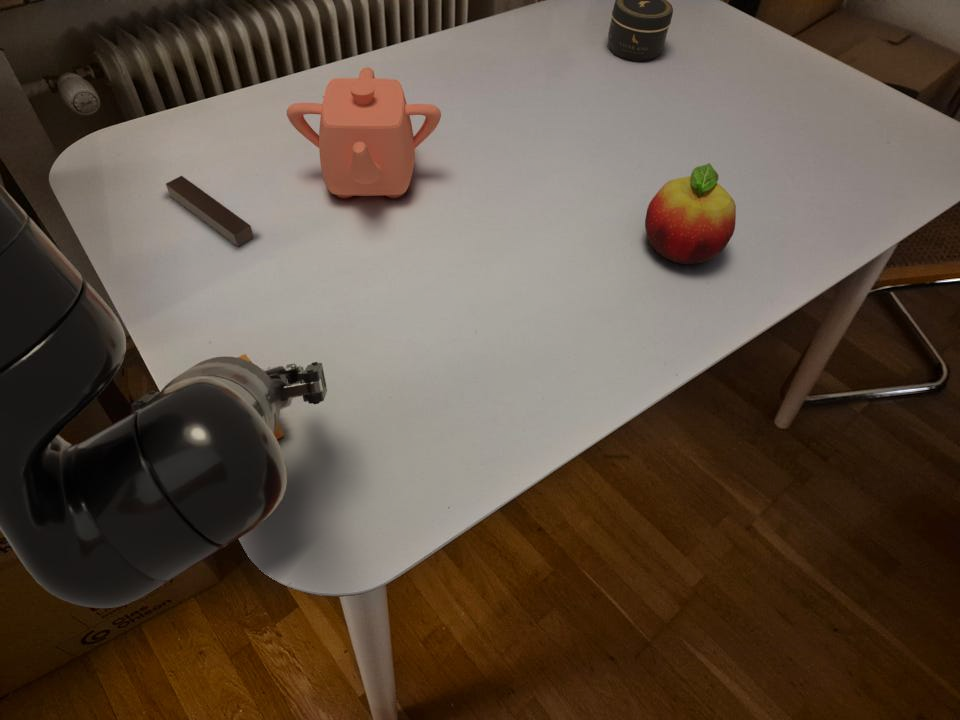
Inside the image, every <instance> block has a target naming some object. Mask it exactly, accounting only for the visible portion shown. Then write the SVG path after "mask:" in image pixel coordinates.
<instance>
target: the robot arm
mask: <svg viewBox="0 0 960 720" xmlns="http://www.w3.org/2000/svg"><path fill="white" fill-rule="evenodd" d="M126 351H127V338H126V333H125V330H124V328H123V326H122V324H121V321H120V320H119V319H118V317H117V315H116V314H115V312H114V311H113V309H112V308H111V307H110V306H109V305H108V304H107V303H106V302H105V300H104V299H103V298H102V296H101V295H100V294H99V293H98V292H97V291H96V289H94V288H93V287H92V286H91V284H89V282H88V281H87V280H86V279H85V278H84V276H82V274H81V273H80V271H79V270H78V269H77V268H76V267H75V266H74V265H73V264H72V263H71V262H70V260H69V259H68V258H67V257H66V256H65V255H64V254H63V253H62V252H61V251H60V249H59V248H58V247H57V246H56V245H55V244H54V243H53V242H52V240H51V239H50V238H49V236H48V235H46V234H45V232H44V231H43V230H42V229H41V228H40V226H38V225H37V223H36V222H35V221H34V220H33V218H31V217H30V216H29V215H28V214H27V212H26V211H25V210H24V209H23V208H22V207H21V206H20V204H19V203H18V202H17V201H16V200H15V199H14V198H13V197H12V195H11V194H10V193H9V192H8V191H7V190H6V189H5V188H4V186H2V184H0V532H1V534H2V535H3V537H4V538H5V539H6V541H7V543H8V544H9V546H10V548H11V549H12V550H13V552H14V554H15V555H16V556H17V558H18V559H19V561H20V562H21V564H22V565H23V567H24V568H25V570H26V571H27V572H28V573H29V575H31V577H32V578H33V580H34V581H35V582H36V583H37V584H38V585H39V586H40V587H41V588H42V589H44V590H45V591H46V592H47V593H49V594H50V595H51V596H54V597H55V598H57V599H59V600H61V601H63V602H67V603H69V604H72V605H76V606H80V607H84V608H91V609H93V608H94V609H112V608H120V607H124V606H126V605H129V604H132V603H134V602H137V601H138V600H140V599H142V598H144V597H146V596H147V595H148V594H150V593H153V592H154V591H156V590H157V589H159V588H161V587H162V586H164V585H166V584H167V583H169V582H170V581H172V580H174V579H175V578H176V577H178V576H180V575H182V574H184V572H186V571H188V570H190V569H191V568H193V567H194V566H196V565H198V564H199V563H201V562H202V561H204V560H206V559H208V558H209V557H211V556H212V555H214V554H216V553H218V552H220V551H221V550H222V549H224V548H226V547H227V546H228V545H230V544H232V543H234V542H236V541H237V540H239V539H241V538H242V537H243V536H245V535H246V534H248V533H250V532H251V531H253V530H254V529H256V528H257V527H258V526H260V525H261V524H262V523H264V521H265V520H266V519H268V518H269V517H270V516H271V515H272V514H273V512H274V511H275V510H276V509H277V507H278V506H279V505H280V503H281V502H282V500H283V498H284V496H285V494H286V491H287V487H288V471H287V465H286V461H285V458H284V454H283V451H282V448H281V446H280V443H279V441H278V439H276V438H275V436H274V432H275V430H276V428H277V422H279V418H280V415H281V410H284V409H286V408H288V407H290V406H291V404H292V401H293V399H295V398H299V397H302V399H303V400H302V401H303V402H304V403H308V404H310V405H312V404H313V405H318V404H320V403H322V402H324V401H325V398H326V396H327V392H328V387H327V382H326V376H325V372H324V366H323V362H318V361H313V362H311V363H310V364H308V365H307V366H306V368H305V369H304V366H302V365H297V364H295V362H294V363H288V364H286V365H285V367H284V366H282V365H280V366H268V367H266V368H261V367H259V366H258V365H257V364H255V363H253V362H252V361H251V362H252V363H251V362H249V361H247V360H244V359H241V358H238V357H236V356H226V355H225V356H215V357H211V358H208V359H205V360H202V361H200V362H198V363H196V364H195V365H193V366H191V367H189V368H188V369H186V370H185V371H184V372H182V373H180V374H179V375H177V376H176V377H174V378H173V379H172V380H171V381H169V382H168V383H166V385H165V386H164V387H163V388H162V389H161V390H160V391H155V390H152V391H148V393H146V394H143V395H142V396H141V397H139V398H137V400H135V401H134V402H133V403H131V404H130V406H131V410H132V412H131V413H130V414H127V415H126V416H124V417H122V418H120V419H119V420H117V421H115V422H114V423H112V424H110V425H108V426H107V427H105V428H103V429H102V430H99V431H97V432H96V433H94V434H93V435H91V436H89V437H86V439H84V440H83V441H80V442H78V443H76V444H73V443H71V442H69V441H67V440H66V439H65V438H63V437H62V436H61V435H60V433H61V432H62V431H64V429H66V428H67V427H68V426H69V425H70V424H71V423H72V422H73V421H74V420H75V419H76V418H78V416H79V415H80V414H81V413H83V411H85V410H86V409H87V408H88V407H89V406H90V405H91V404H92V403H93V402H94V401H95V400H96V399H97V398H98V397H99V396H100V395H101V394H102V393H103V391H104V390H105V389H106V388H107V387H108V385H109V384H110V383H112V381H113V379H114V378H115V376H116V375H117V373H118V372H119V370H120V368H121V366H122V363H123V362H124V359H125V357H126V356H125V355H126Z"/></svg>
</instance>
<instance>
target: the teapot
mask: <svg viewBox="0 0 960 720" xmlns="http://www.w3.org/2000/svg"><path fill="white" fill-rule="evenodd" d="M402 86H403V85H402V84H401V81H399V80H398V79H397V78H396V79H394V78H378V77H377V78H376V77H375V73H374V70H373V69H372V68H370V67H362V68H361V70H360V71H359V75H358V77H338V78H337V77H336V78H332V79H330V81H329V82H328V83H327V85H326V87H325V90H324V94H323V99H322V103H318V102H296V103H292V104H290V105H289V106H288V107H287V109H286V117H287V119H288V120H289V122H290V124H291V125H292V126H293V128H294V129H295V130H296V131H297V132H298V133H300V135H302V136H303V137H304V138H305V139H306V140H308V141H309V142H310V143H312V144H313V145H314V146H316V148H318V150H319V152H318V153H319V163H320V169H321V174H322V175H321V176H322V179H323V181H324V184H325V185H326V188H327V190H328V191H329V192H330V193H331V194H333V195H336V196H337V197H338V198H341V199H349V198H352V197H353V196H366V197H367V196H369V197H370V196H371V197H373V196H386V197H387V198H392V199H397V198H400V197H402V196H403V195H404V194H405V193H406V192H407V191H408V188H409V186H410V183H411V181H412V176H413V172H414V167H415V161H416V149H417V147H419V146H420V145H421V144H422V143H423V142H424V141H425V140H426V139H427V138H428V137H429V136H430V135H431V134H432V133H433V132H434V131H435V130H436V128H437V127H438V125H439V123H440V121H441V118H442V111H441V110H440V108H439V107H438V106H436V105H435V104H429V103H407V100H406V99H407V98H406V96H405V93H404V89H403V87H402ZM304 115H318V116H319V115H320V119H319V131H318V133H317V132H316V131H315V130H314V129H313V128H312V126H311V125H310V124H309V123H308V121H307V120H306V119H305V117H304ZM411 116H424V117H425V118H424V121H423V123H422V125H421V126H420V128H419V130H418V131H417V132H416V133H415V135H414V130H413V125H412V120H411Z"/></svg>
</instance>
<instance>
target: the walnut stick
mask: <svg viewBox="0 0 960 720" xmlns="http://www.w3.org/2000/svg"><path fill="white" fill-rule="evenodd" d="M165 186H166V189H167V191H168V194H169V196H170V197H171V198H172V199H173V200H175V201H176V202H177V203H179V204H180V205H181V206H182V207H184V208H185V209H187V210H188V211H189V212H190V213H192V214H193V215H194V216H196V217H198V218H199V219H200V220H201V221H203V222H204V223H206V224H207V225H208V226H209V227H211V229H213V230H214V231H216V232H217V233H219V234H220V235H221V236H223V237H224V238H225V239H227V240H228V241H229V242H231V243H232V244H233V245H235V246H236V247H237V248H239V247H241V246H243V245H244V244H246V243H248V242H249V241H251V240H252V239H254V237H255V236H254V233H253V230H252V226H251V224H249V223H248V222H247V221H245V220H244V219H242V218H241V217H240V216H238V215H236V214H235V213H234V212H232V210H230V209H229V208H227V207H226V206H224V205H223V204H222V203H220V202H219V201H217V200H216V199H215V198H213V197H212V196H211V195H210V194H208V193H206V192H205V191H204V190H202V189H201V188H199V187H198V186H197V185H196V184H194V183H192V182H191V181H190V180H188V179H187V178H186V177H184V176H183V175H180V176H178V177H176V178H174V179H171V180H170V181H168V182H166V183H165Z"/></svg>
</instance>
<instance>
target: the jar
mask: <svg viewBox="0 0 960 720" xmlns="http://www.w3.org/2000/svg"><path fill="white" fill-rule="evenodd" d="M673 14H674V7H673V5H672V4H671V3H670V1H668V0H615V1H614V4H613V7H612V11H611V20H610V24H609V29H608V34H607V40H608V41H607V42H608V43H607V44H608V47H609V49H610V51H611V52H612V53H613V54H614V55H616V56H617V57H619V58H621V59H624V60H627V61H632V62H647V61H650V60H653V59H655V58H656V57H657V56H658V55H660V52H662V49H663V48H664V45H665V42H666V39H667V35H668V31H669V28H670V26H671V23H672V18H673Z"/></svg>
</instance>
